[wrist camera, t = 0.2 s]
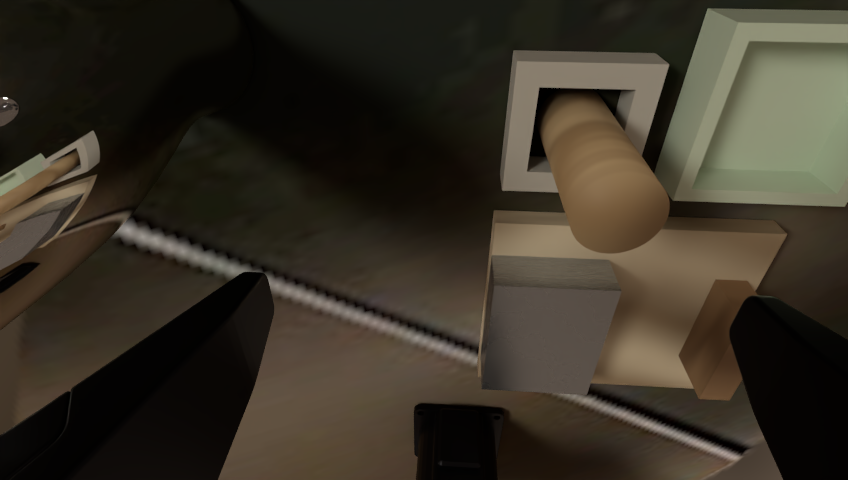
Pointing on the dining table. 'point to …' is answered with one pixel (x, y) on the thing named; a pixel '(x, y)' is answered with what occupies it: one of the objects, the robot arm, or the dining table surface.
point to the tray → (762, 111)
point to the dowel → (599, 174)
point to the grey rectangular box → (546, 323)
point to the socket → (574, 70)
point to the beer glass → (98, 120)
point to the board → (661, 294)
